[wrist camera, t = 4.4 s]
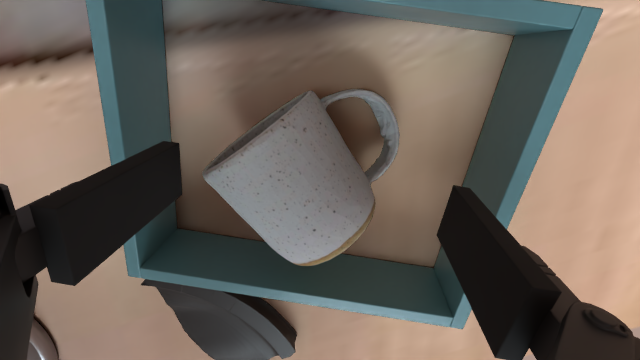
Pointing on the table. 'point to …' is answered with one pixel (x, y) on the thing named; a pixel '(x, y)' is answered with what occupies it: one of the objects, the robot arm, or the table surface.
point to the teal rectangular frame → (343, 270)
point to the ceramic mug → (303, 178)
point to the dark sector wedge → (229, 322)
